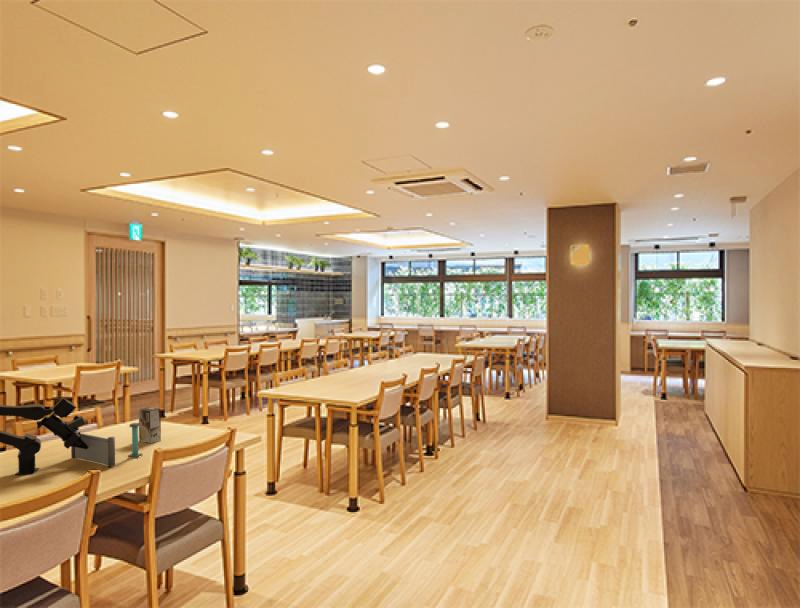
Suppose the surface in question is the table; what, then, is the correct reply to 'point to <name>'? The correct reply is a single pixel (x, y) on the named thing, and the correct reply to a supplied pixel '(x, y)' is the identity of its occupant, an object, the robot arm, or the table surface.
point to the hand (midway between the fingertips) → (87, 448)
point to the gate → (96, 450)
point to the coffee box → (150, 425)
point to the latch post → (135, 440)
